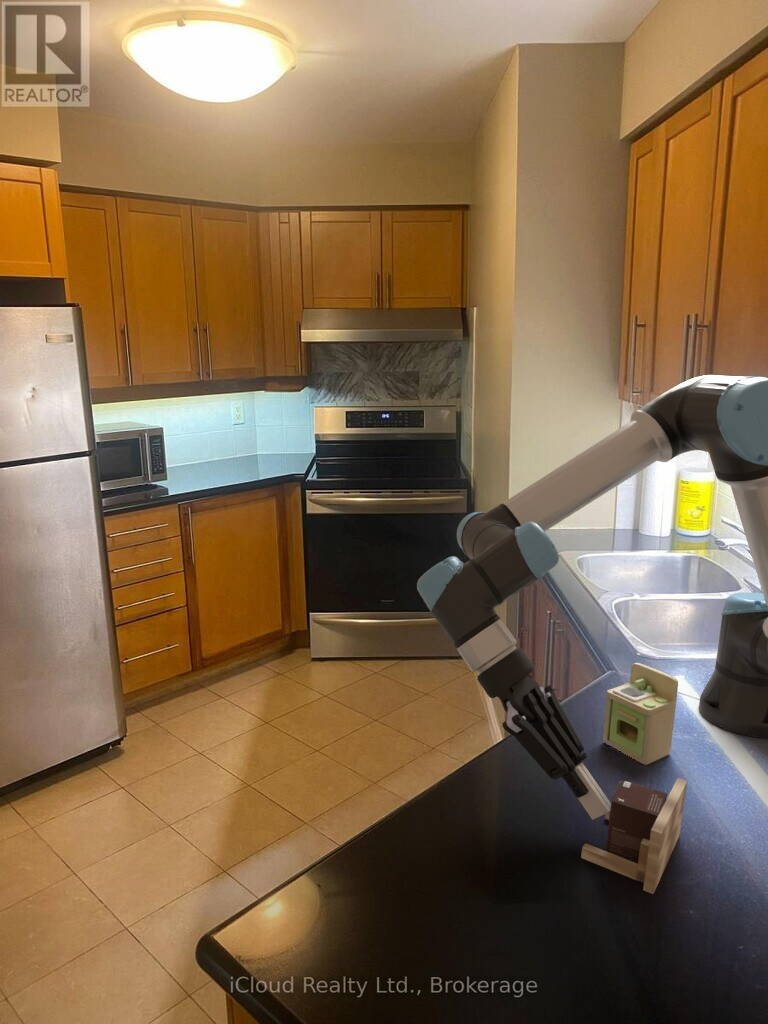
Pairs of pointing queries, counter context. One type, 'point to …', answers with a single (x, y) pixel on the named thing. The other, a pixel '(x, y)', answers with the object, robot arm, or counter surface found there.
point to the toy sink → (642, 714)
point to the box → (632, 818)
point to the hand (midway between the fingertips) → (602, 812)
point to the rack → (648, 844)
